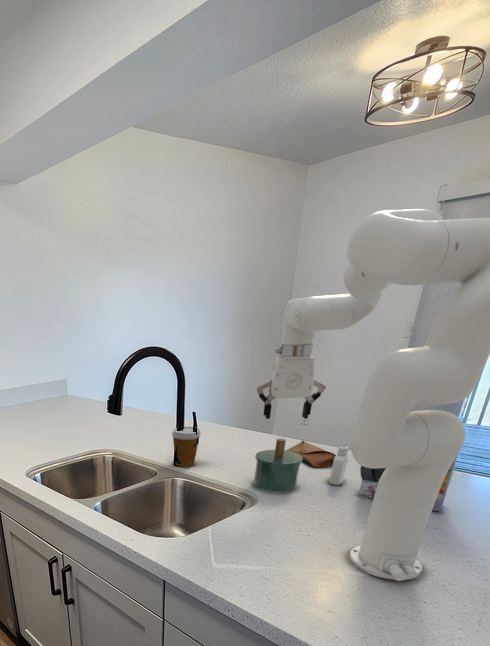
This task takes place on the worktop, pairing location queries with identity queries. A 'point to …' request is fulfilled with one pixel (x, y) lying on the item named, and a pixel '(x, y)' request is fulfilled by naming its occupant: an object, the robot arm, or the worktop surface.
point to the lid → (279, 455)
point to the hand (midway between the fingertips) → (285, 417)
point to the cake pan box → (373, 475)
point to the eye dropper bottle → (339, 465)
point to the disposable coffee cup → (185, 445)
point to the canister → (275, 477)
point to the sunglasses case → (313, 455)
